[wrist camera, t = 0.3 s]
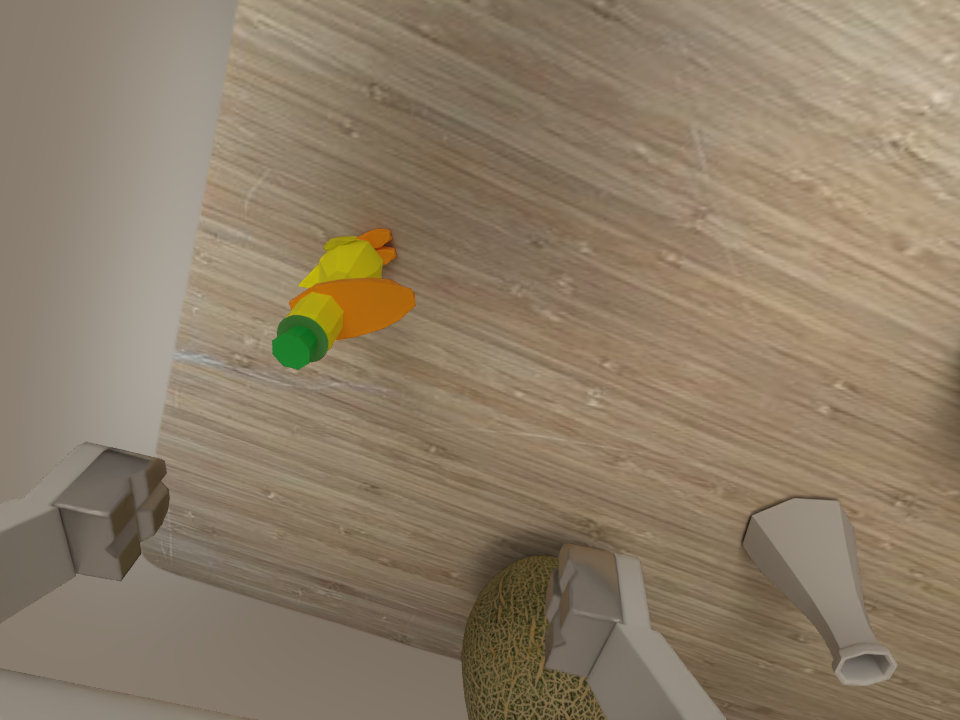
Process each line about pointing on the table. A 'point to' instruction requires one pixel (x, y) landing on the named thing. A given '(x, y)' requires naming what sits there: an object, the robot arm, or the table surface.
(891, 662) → the flask
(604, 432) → the table surface
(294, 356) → the toy figure
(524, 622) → the fruit
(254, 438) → the table surface
